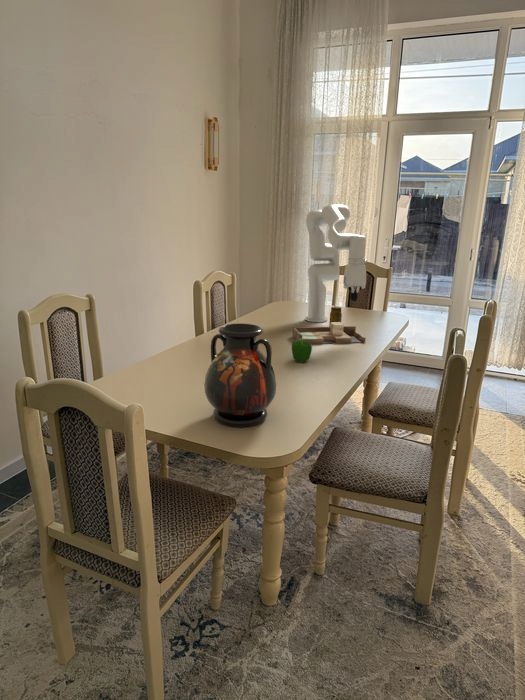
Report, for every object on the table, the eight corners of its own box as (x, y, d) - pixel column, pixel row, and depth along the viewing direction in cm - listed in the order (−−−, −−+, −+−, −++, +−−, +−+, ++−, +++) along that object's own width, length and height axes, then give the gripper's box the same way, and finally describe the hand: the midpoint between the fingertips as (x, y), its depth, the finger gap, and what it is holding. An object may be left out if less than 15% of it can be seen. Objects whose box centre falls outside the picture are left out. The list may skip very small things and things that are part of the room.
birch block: (330, 332, 242) (330, 322, 241) (339, 332, 243) (340, 322, 242) (333, 334, 238) (333, 324, 236) (343, 334, 239) (343, 324, 237)
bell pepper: (299, 356, 211) (300, 334, 209) (314, 361, 206) (315, 337, 203) (286, 360, 206) (287, 337, 203) (301, 365, 200) (302, 341, 197)
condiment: (334, 327, 263) (336, 305, 259) (346, 331, 256) (348, 308, 253) (325, 329, 258) (326, 307, 255) (337, 333, 252) (338, 310, 248)
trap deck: (292, 336, 244) (292, 327, 242) (354, 334, 249) (355, 326, 248) (299, 344, 229) (300, 335, 228) (365, 342, 235) (365, 333, 233)
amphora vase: (191, 425, 144) (189, 332, 136) (223, 399, 164) (222, 317, 156) (260, 438, 137) (262, 341, 129) (284, 409, 156) (287, 323, 149)
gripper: (368, 261, 237) (365, 299, 242) (338, 261, 234) (336, 299, 239) (374, 262, 230) (371, 301, 235) (343, 263, 227) (341, 302, 232)
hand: (353, 300), depth 237 cm, fingers closed
